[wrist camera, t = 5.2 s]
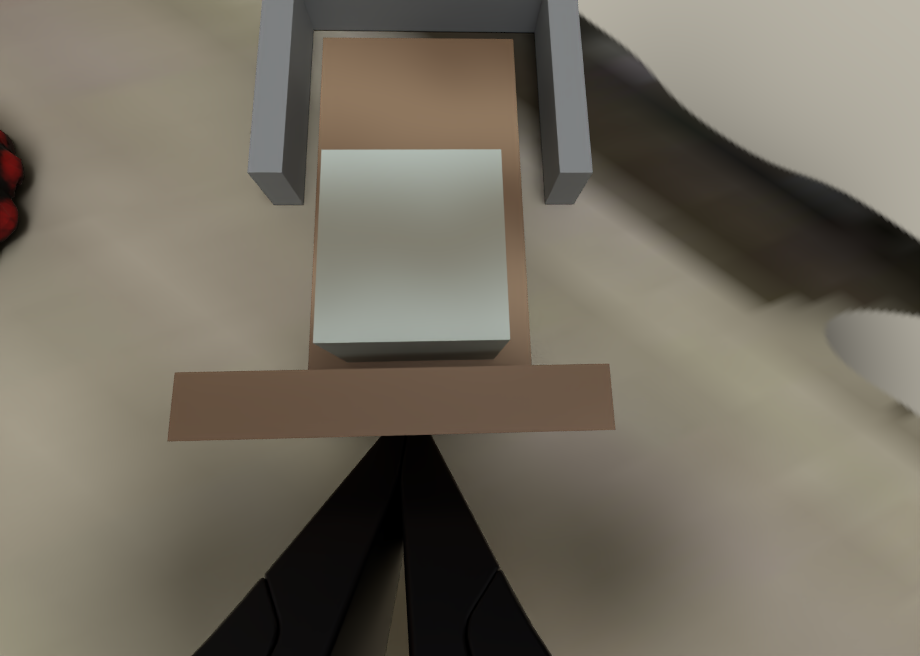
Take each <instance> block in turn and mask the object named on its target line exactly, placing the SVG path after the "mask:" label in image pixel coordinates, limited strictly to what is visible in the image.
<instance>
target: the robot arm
mask: <svg viewBox="0 0 920 656" xmlns="http://www.w3.org/2000/svg"><path fill="white" fill-rule="evenodd" d="M403 553H404V567H405V586H406V604H407V622H408V640H409V656H552V655H551V653H550V652H549V650H548V649H547V647H546V646H545V644H544V642H543V641H542V639H541V638H540V636H539V635H538V633H537V632H536V630H535V628H534V627H533V625H532V624H531V622H530V620H529V618H528V616H527V615H526V613H525V611H524V609H523V608H522V606H521V604H520V602H519V601H518V599H517V597H516V595H515V593H514V592H513V590H512V588H511V586H510V584H509V582H508V580H507V578H506V576H505V575H504V573H503V571H502V570H500V566H499V564H498V562H497V560H496V558H495V557H494V555H493V553H492V551H491V549H490V547H489V545H488V543H487V541H486V539H485V537H484V535H483V534H482V532H481V530H480V528H479V526H478V524H477V522H476V520H475V518H474V516H473V514H472V513H471V511H470V509H469V507H468V505H467V503H466V501H465V499H464V497H463V495H462V493H461V491H460V490H459V488H458V486H457V484H456V482H455V480H454V478H453V476H452V474H451V472H450V470H449V468H448V467H447V465H446V463H445V461H444V459H443V457H442V455H441V453H440V451H439V449H438V447H437V446H436V444H435V442H434V440H433V438H432V436H431V435H394V436H381V437H380V438H379V439H378V441H377V442H376V443H375V444H374V445H373V446H372V448H371V449H370V450H369V451H368V452H367V454H366V455H365V456H364V457H363V458H362V460H361V461H360V462H359V463H358V464H357V465H356V467H355V468H354V469H353V470H352V471H351V473H350V474H349V475H348V476H347V477H346V478H345V480H344V481H343V482H342V483H341V484H340V486H339V487H338V488H337V489H336V490H335V492H334V493H333V494H332V495H331V496H330V497H329V499H328V500H327V501H326V502H325V503H324V505H323V506H322V507H321V508H320V509H319V511H318V512H317V513H316V514H315V515H314V516H313V518H312V519H311V520H310V521H309V522H308V524H307V525H306V526H305V527H304V528H303V530H302V531H301V532H300V533H299V534H298V535H297V537H296V538H295V539H294V540H293V541H292V543H291V544H290V545H289V546H288V547H287V549H286V550H285V551H284V552H283V553H282V554H281V556H280V557H279V558H278V559H277V560H276V562H275V563H274V564H273V565H272V566H271V568H270V569H269V570H268V571H267V572H266V573H265V578H261V579H259V581H258V582H257V583H256V584H255V585H254V587H253V588H252V589H251V590H250V591H249V593H248V594H247V595H246V596H245V597H244V598H243V600H242V601H241V602H240V603H239V604H238V605H237V606H236V608H235V609H234V610H233V611H232V612H231V613H230V614H229V616H228V617H227V618H226V619H225V620H224V621H223V622H222V623H221V625H220V626H219V627H218V628H217V629H216V630H215V631H214V633H213V634H212V635H211V636H210V637H209V638H208V639H207V640H206V641H205V642H204V643H203V644H202V645H201V646H200V647H199V648H198V650H197V651H196V652H195V653H194V654H193V655H192V656H385V654H386V648H387V643H388V637H389V631H390V626H391V620H392V615H393V609H394V603H395V598H396V592H397V587H398V581H399V576H400V570H401V564H402V559H403Z"/></svg>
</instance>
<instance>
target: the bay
mask: <svg viewBox="0 0 920 656" xmlns="http://www.w3.org/2000/svg"><path fill="white" fill-rule="evenodd" d="M313 30H373V31H456V32H535V48H536V64H537V80H538V96H539V112H540V128H541V144H542V160H543V176H544V192H545V204H574V203H575V201H576V199H577V198H578V196H579V194H580V193H581V191H582V189H583V188H584V186H585V184H586V183H587V181H588V179H589V178H590V176H591V174H592V173H593V171H592V160H591V148H590V137H589V125H588V114H587V103H586V91H585V80H584V68H583V57H582V45H581V34H580V22H579V11H578V0H262V10H261V22H260V33H259V45H258V56H257V68H256V80H255V91H254V103H253V115H252V126H251V138H250V149H249V161H248V174H249V175H250V176H251V177H252V179H253V180H254V181H255V182H256V183H257V185H258V186H259V187H260V188H261V190H262V191H263V192H264V193H265V195H266V196H267V197H268V198H269V199H270V201H271V202H272V203H273V204H274V205H303V203H304V185H305V168H306V150H307V133H308V115H309V98H310V80H311V63H312V45H313Z"/></svg>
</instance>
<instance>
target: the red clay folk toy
mask: <svg viewBox="0 0 920 656" xmlns="http://www.w3.org/2000/svg"><path fill="white" fill-rule="evenodd" d="M23 172H24V167H23V164H22V162H21V159H20V158H18V157H16V155H15V148H14V145H13V143H12V140H11V139H10V138H9V137H8V135H6V134H5V133H4V132H2V131H1V130H0V243H1V242H2V241H4V240H6V239H7V238H8V236H9V235H10V234H11V233H12V232H14V231H15V230H16V228H17V225H18V208H17V207H16V205H15V204H14V203H13V201H12V200H11V198H14V196H15V194H14V192H15V190H16V186H17V185H20V186H21V183H22V181H23V179H24V173H23Z"/></svg>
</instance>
